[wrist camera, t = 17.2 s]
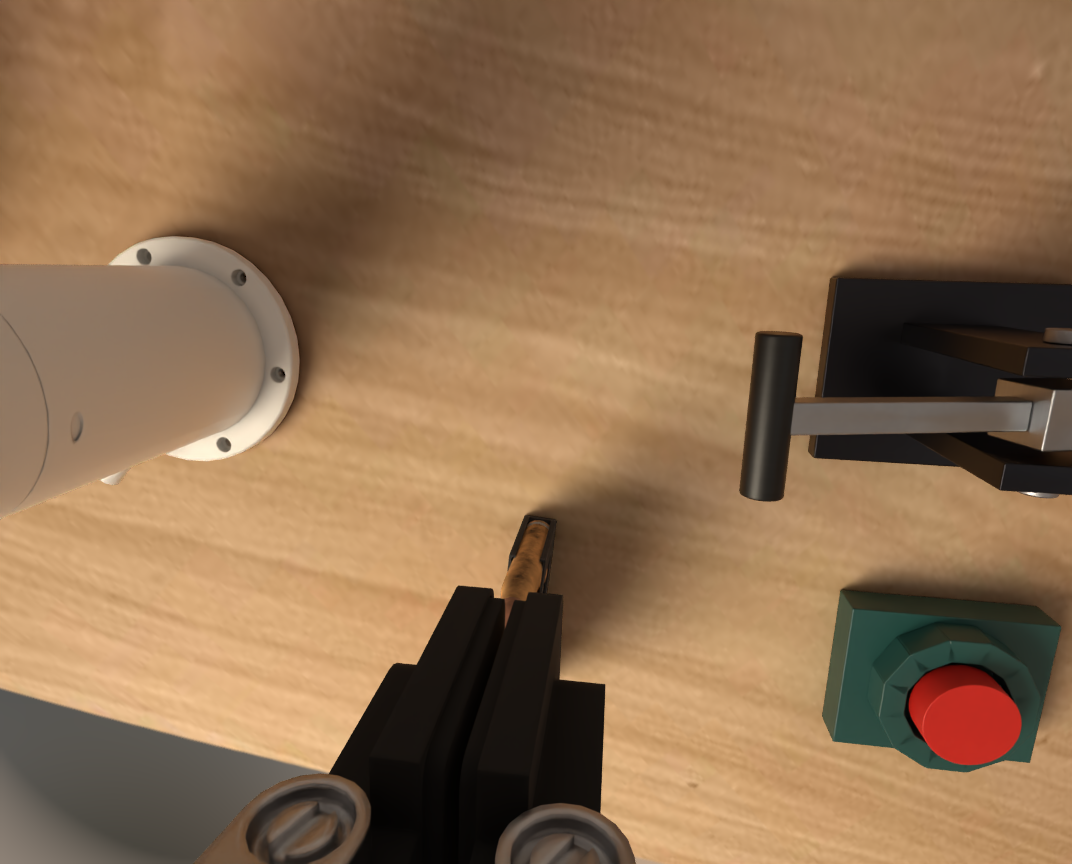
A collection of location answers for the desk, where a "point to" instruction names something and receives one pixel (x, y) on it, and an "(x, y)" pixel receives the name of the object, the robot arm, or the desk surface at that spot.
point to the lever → (883, 414)
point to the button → (964, 715)
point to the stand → (945, 367)
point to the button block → (931, 665)
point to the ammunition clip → (529, 561)
